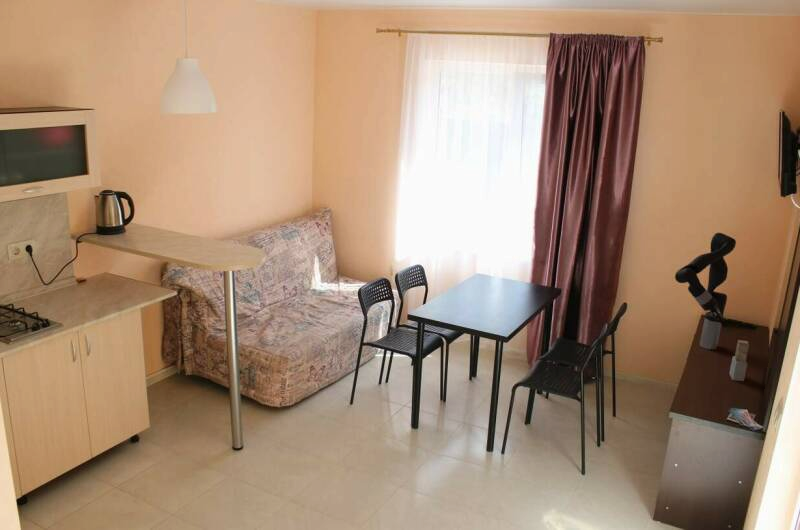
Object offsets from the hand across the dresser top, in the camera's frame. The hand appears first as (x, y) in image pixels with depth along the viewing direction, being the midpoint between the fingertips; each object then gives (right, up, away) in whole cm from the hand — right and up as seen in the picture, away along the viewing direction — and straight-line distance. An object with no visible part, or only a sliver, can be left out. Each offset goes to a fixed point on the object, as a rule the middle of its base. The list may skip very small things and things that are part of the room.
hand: (724, 323), depth 371 cm
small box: (+9, -30, +7) cm, 32 cm away
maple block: (+9, -19, +3) cm, 22 cm away
